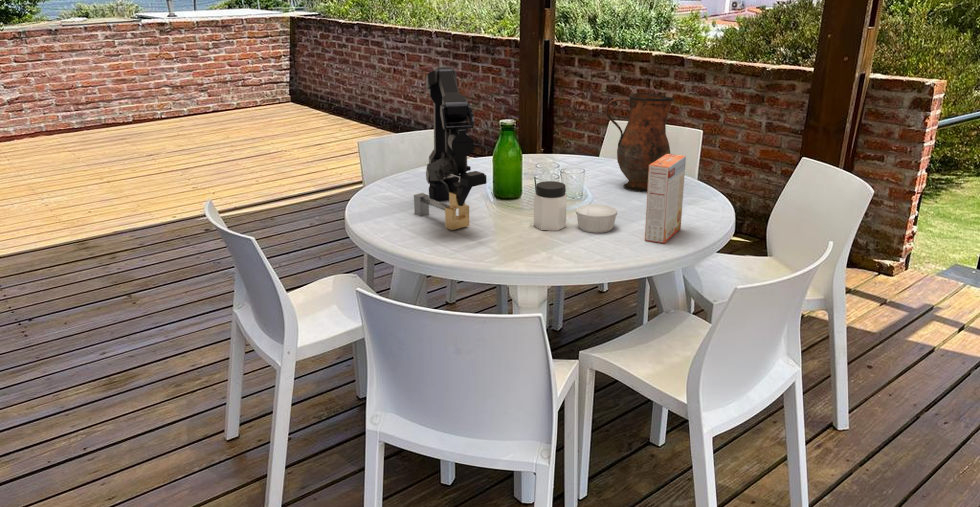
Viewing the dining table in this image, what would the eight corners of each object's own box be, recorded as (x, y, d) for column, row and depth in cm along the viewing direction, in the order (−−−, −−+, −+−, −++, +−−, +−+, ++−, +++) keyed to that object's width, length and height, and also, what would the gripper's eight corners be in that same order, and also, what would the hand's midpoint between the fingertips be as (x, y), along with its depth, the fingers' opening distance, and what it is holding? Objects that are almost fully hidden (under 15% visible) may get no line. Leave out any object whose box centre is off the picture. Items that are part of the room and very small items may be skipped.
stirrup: (462, 223, 217) (462, 189, 214) (469, 225, 215) (469, 191, 212) (445, 227, 214) (444, 193, 210) (452, 230, 211) (451, 195, 208)
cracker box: (660, 226, 218) (665, 152, 211) (681, 229, 215) (687, 155, 208) (642, 240, 207) (647, 163, 200) (664, 244, 204) (670, 166, 197)
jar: (570, 229, 216) (572, 187, 212) (545, 233, 213) (546, 190, 209) (554, 220, 224) (555, 179, 219) (529, 224, 220) (529, 182, 216)
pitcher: (671, 194, 247) (679, 99, 237) (604, 194, 248) (609, 99, 238) (662, 181, 263) (669, 91, 252) (599, 180, 264) (603, 91, 253)
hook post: (423, 213, 230) (422, 192, 228) (454, 225, 219) (453, 203, 217) (411, 216, 227) (410, 194, 225) (441, 228, 217) (440, 206, 214)
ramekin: (568, 224, 220) (568, 206, 218) (602, 219, 224) (603, 202, 222) (588, 236, 210) (589, 218, 208) (623, 231, 214) (624, 213, 213)
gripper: (410, 146, 208) (413, 202, 214) (453, 158, 195) (454, 218, 201) (444, 140, 215) (445, 195, 221) (487, 152, 202) (487, 210, 207)
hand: (457, 204), depth 212 cm, fingers closed on stirrup, 3 cm apart
